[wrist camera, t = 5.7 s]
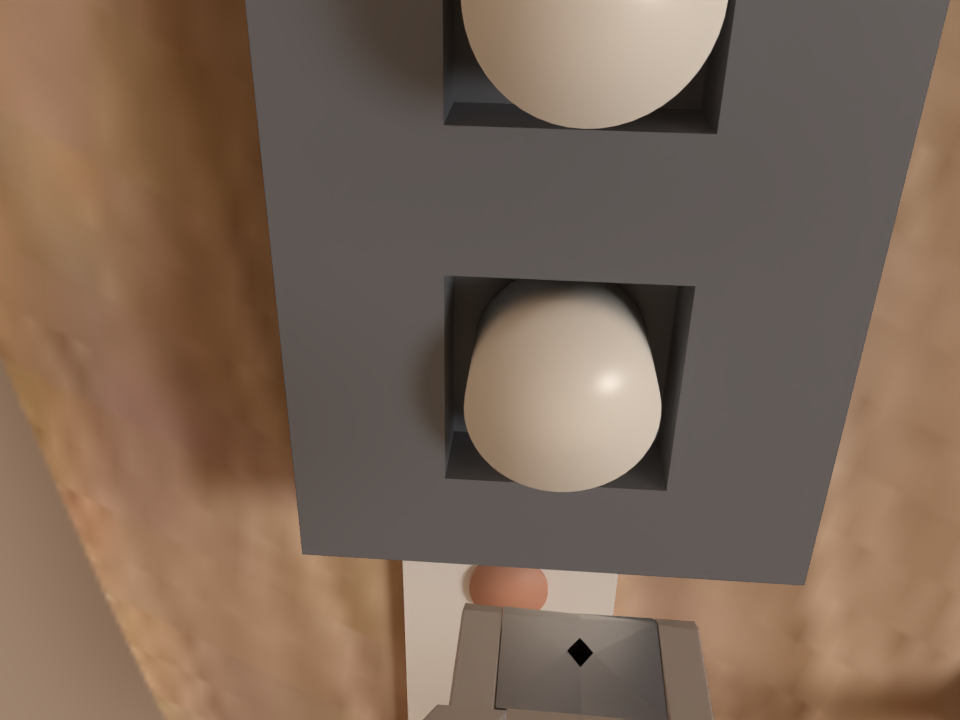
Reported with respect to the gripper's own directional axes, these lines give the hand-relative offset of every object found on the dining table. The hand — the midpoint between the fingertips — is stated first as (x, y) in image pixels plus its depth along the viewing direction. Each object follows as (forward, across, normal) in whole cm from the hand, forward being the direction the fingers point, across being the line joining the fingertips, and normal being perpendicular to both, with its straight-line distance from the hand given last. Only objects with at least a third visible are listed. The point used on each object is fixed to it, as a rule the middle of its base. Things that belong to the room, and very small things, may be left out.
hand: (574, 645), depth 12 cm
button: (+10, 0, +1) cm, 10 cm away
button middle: (+9, 0, -7) cm, 11 cm away
